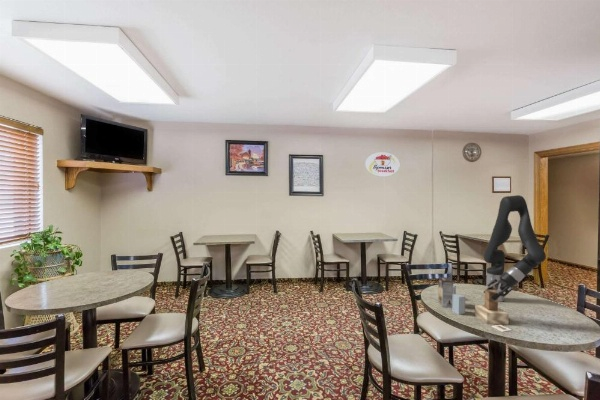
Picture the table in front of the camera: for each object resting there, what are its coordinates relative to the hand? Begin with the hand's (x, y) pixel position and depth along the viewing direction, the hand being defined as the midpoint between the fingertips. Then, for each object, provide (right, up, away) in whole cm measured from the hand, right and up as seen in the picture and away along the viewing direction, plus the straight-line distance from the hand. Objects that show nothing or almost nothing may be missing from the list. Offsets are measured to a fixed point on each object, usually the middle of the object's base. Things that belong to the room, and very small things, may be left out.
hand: (488, 296), depth 155 cm
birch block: (+1, -13, 0) cm, 13 cm away
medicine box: (-4, -13, +34) cm, 36 cm away
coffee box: (-13, -13, +21) cm, 28 cm away
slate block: (-12, -13, +9) cm, 19 cm away
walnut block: (+1, -7, 0) cm, 7 cm away
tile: (-1, -13, -11) cm, 17 cm away
